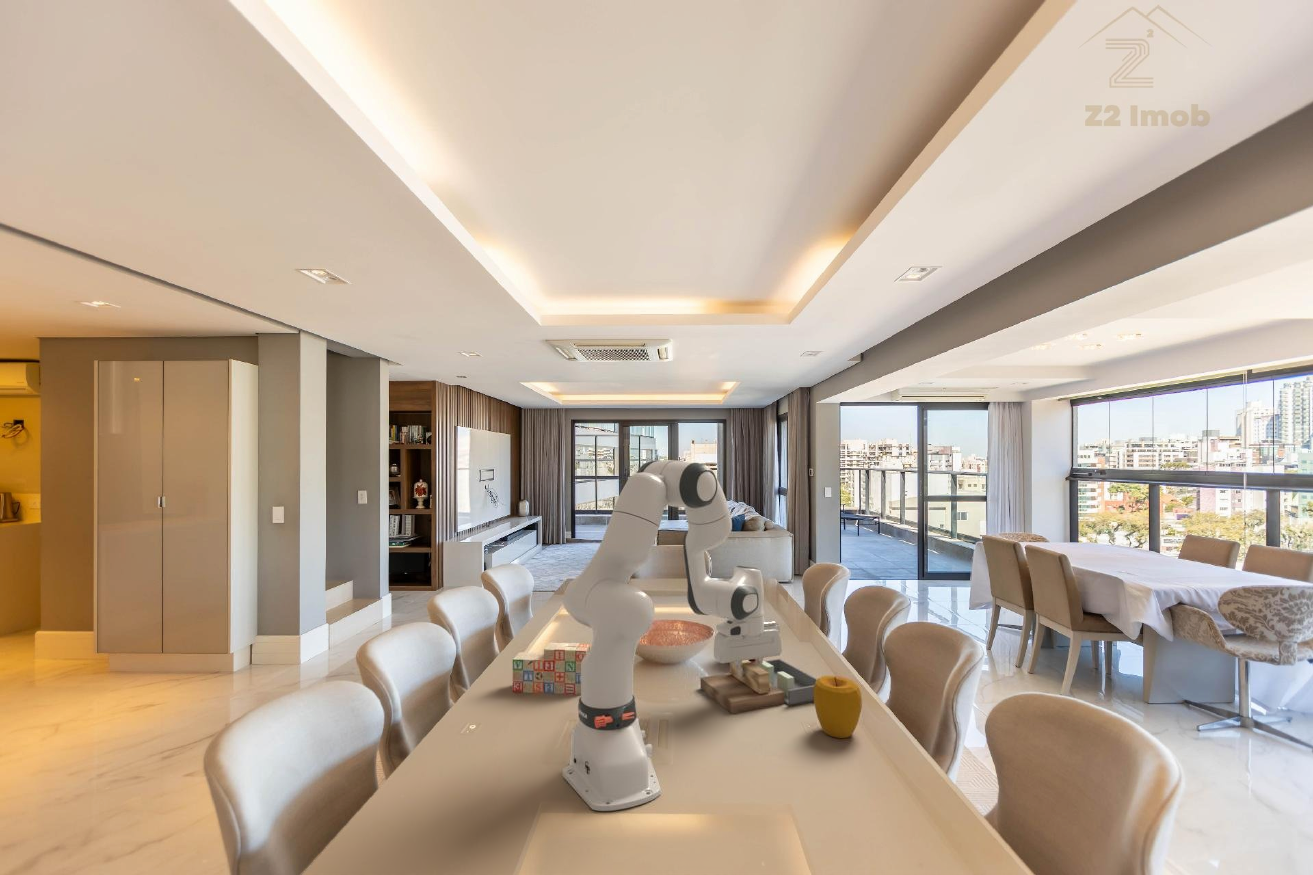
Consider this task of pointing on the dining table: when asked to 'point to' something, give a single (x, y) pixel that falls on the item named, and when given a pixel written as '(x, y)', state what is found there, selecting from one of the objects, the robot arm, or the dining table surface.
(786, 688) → the tile
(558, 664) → the stack of blocks
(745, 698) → the board
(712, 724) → the dining table surface
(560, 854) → the dining table surface
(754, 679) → the wooden plank piece
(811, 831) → the dining table surface
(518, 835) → the dining table surface
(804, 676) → the tray
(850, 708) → the apple
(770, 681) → the tile
